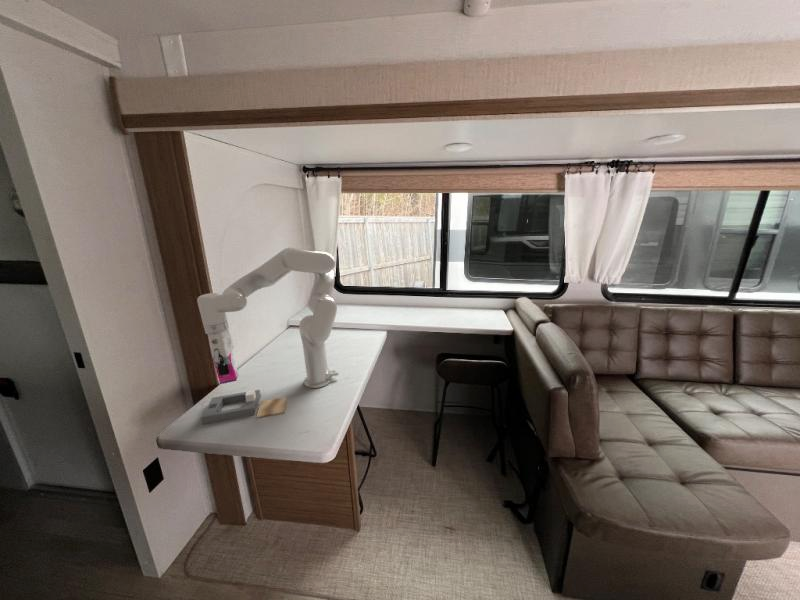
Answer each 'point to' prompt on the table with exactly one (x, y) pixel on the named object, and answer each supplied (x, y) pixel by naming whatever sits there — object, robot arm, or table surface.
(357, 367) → the table surface
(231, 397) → the grey rectangular frame
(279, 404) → the coaster
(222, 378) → the supplement box
